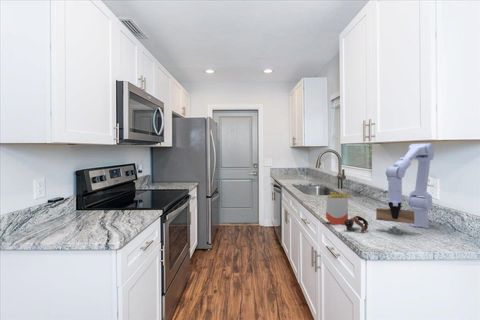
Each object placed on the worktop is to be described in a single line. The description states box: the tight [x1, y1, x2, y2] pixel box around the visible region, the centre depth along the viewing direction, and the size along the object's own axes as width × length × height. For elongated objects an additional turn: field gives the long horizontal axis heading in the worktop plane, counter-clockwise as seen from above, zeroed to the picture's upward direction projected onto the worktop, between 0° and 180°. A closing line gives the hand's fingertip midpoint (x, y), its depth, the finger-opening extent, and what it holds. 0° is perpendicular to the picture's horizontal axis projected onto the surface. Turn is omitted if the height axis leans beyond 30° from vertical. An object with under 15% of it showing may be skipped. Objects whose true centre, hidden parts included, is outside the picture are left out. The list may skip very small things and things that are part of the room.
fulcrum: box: [388, 225, 402, 236], centre depth 128 cm, size 7×5×2 cm
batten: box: [375, 207, 414, 225], centre depth 128 cm, size 4×16×6 cm, turn 61°
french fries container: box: [325, 191, 349, 226], centre depth 145 cm, size 5×11×18 cm, turn 84°
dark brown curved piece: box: [343, 215, 369, 233], centre depth 132 cm, size 12×10×8 cm
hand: (394, 217), depth 128 cm, fingers closed on batten, 3 cm apart
